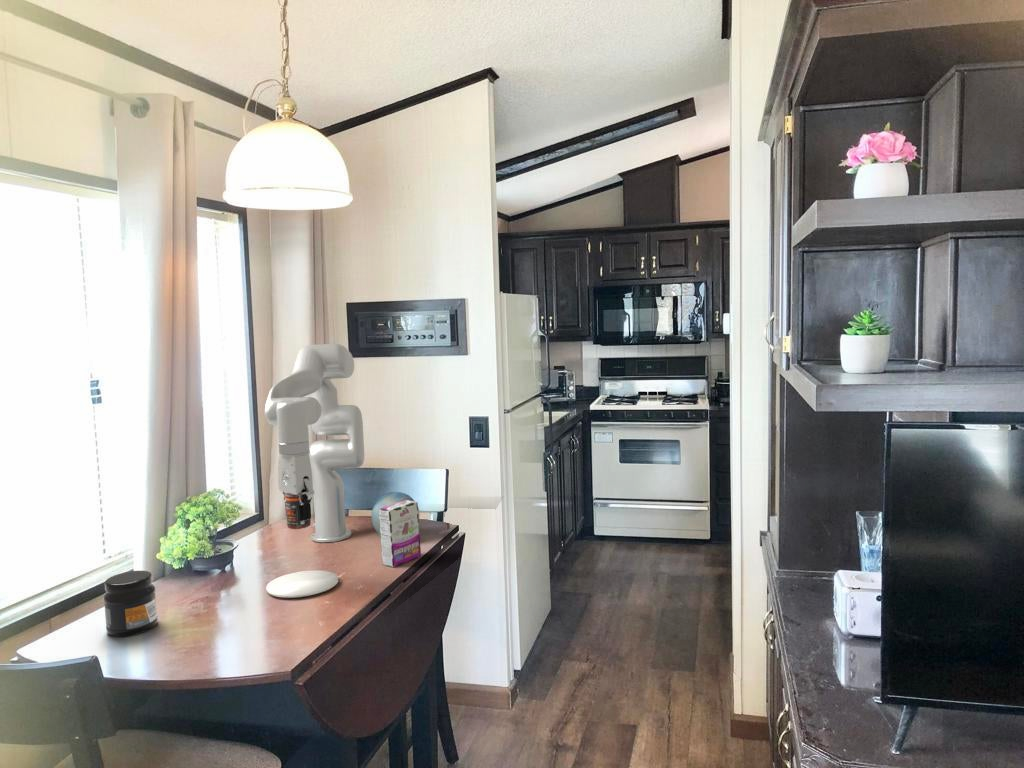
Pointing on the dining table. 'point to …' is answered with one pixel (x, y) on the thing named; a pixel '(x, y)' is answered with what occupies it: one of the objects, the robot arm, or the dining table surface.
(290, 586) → the dish
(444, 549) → the dining table surface
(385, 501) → the decorative ball
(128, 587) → the supplement container
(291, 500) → the supplement bottle
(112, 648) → the dining table surface
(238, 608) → the dining table surface
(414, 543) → the candy bar box
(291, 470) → the robot arm
